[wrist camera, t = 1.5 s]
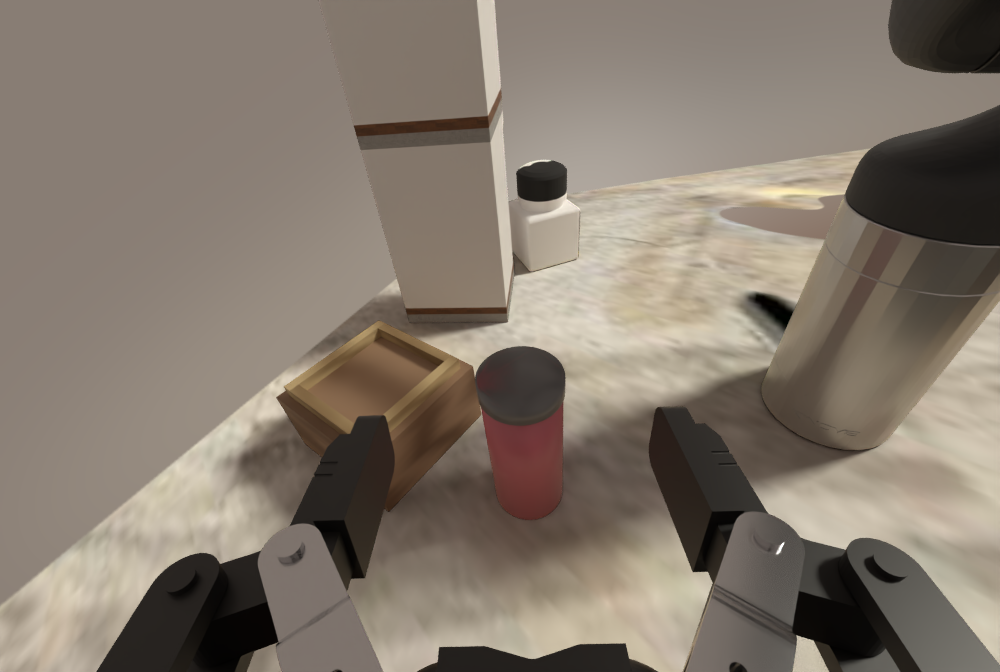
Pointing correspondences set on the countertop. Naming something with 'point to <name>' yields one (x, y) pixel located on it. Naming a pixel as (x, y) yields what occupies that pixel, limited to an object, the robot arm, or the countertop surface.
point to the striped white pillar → (432, 147)
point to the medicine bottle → (543, 216)
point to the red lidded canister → (524, 428)
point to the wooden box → (387, 399)
